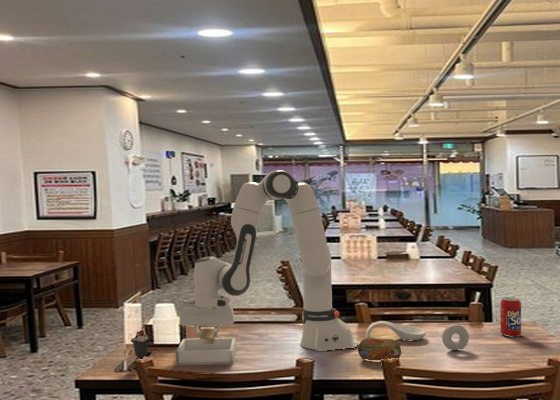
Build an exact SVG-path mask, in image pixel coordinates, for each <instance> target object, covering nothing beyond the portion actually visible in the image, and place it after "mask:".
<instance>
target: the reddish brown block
mask: <svg viewBox="0 0 560 400" xmlns="http://www.w3.org/2000/svg"><path fill="white" fill-rule="evenodd" d="M199 327H200V326H198V327H197V330H198V331H199V332H200V329H199ZM185 333H186V337H185V339H195V338H200V337H196V332H195V331H194V329H193V326H185Z"/></svg>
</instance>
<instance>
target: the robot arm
mask: <svg viewBox="0 0 560 400" xmlns="http://www.w3.org/2000/svg"><path fill="white" fill-rule="evenodd" d="M282 199H283V200H284V201H286V202H287V205H288V207H289V212H290V214H291V215H290V216H291V219H292V224H293V228H294V232H295V236H296V240H297V246H298V251H299V255H300V260H301V265H302V267H303V280H302V281H303V282H302V283H303V285H302V286H303V291H302V292H303V295H302V297H303V308H302V312H301V313H302V316H301V318H302V323H303V327H302V334H301V340H300V342H299V345H300V346H301V347H303V348H305V349H309V350H314V351H316V352H328V351H327V350H332V351H336V350H335V349H343V348H352V347H356V346H357V345H358V346H359V340H358V339H357V338H355V337H354V336H353V334H352V333H353V332H352V329H351V327H350V326H349V325H348V324H347V323H345V322H344V321H343V320H341V319H340V318H339V317H340V311H338V310H337V309H336V308H334V307H333V291H332V290H333V289H332V255H331V252H330V249H329V246H328V242H327V237H326V232H325V228H324V224H323V220H322V216H321V212H320V207H319V203H318V200H317V197H316V195H315V193H314V190H313V188H312V186H311V185H310V184H308V183H307V182H298V181H296V179H295V178H294V177H293V176H292V175H291V174H290V173H289V172H288V171H286V170H282V169H277V170H272V171H270V172H269V173H267V174H266V175H265V176H264V177H263V178H262V179H261V180H259V182H254V181H248V182H244V184H242V186H241V188H240V189H239V192H238V194H237V196H236V199H235V201H234V205H233V209H232V212H231V216H230V218H231V219H230V225H231V227H232V229H233V232H234V234H235V237H236V244H235V245H236V246H235V250H234V255H233V259H232V263H228V262H224V261H223V260H220V259H219V258H217V257H216V256H214V255H210V256H203V257H201V258H198V259H197V260H196V261H195V264H194V269H193V271H194V272H193V282H194V285H195V288H194V292H193V293H194V294H193V295H194V300H182V301H181V302H179V304H178V312H179V323H178V324H179V325H180V326H182V327H186V326H193V329H194V331H195V332H196V337H199V338H200V330H199V331H198V330H197V327H198V326H199V327H200V326H201V327H215V328H216V330H215V332H214V337H215V338H219V337H218V336H219V331H220V329H221V327H222V326H233V324H234V323H235V315H234V309H233V306H232V305H231V298H230V297H229V296H225V295H223V294H220V293H219V290H222V289H223V290H224V291H225V292H226V293H227V295H230V296H233V297H237V296H241V295H244V294H245V293H246V292H247V291H248V290H249V287H250V284H251V276H250V265H251V260H252V257H253V252H254V248H255V243H256V237H257V232H258V229H259V224H260V221H261V218H262V215H263V210H264V207H265V205H266V203H267V202H268V201H278V200H282ZM343 350H344V349H343Z"/></svg>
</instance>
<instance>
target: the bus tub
mask: <svg viewBox="0 0 560 400" xmlns="http://www.w3.org/2000/svg"><path fill="white" fill-rule="evenodd" d="M236 343H237V340H236V337H215V341H214V343H213V344H200V337H199V338H195V339H186V338H182V340H181V342H180V344H179V346H178V347H177V349H176V350H175V361H176V362H175V363H176V365H175V366H176V367H177V366H179V367H181V366H211V365H212V366H215V365H217V366H219V365H222V366H223V365H234V360H235V356H236V353H237V352H236V351H237V345H236Z"/></svg>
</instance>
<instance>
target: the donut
mask: <svg viewBox="0 0 560 400" xmlns="http://www.w3.org/2000/svg"><path fill="white" fill-rule="evenodd" d="M454 334H457V335H459V337H458V340H456V341H453V340H452V336H453V335H454ZM441 335H442V336H441V340H442V344H443V345H444V347H446V348H447V349H448V350H450V349H451V350H450V351H452V350H458V349H462V350H463V349H464V348H465V347H466V346H467V345H468V343H469V340H470V336H469V335H470V334H469V332H468V331H467V329H466V328H465V326H464V325H461V324H457V323H453V324H450V325H448V326H446V328H444V330H443V332H442V334H441Z"/></svg>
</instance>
